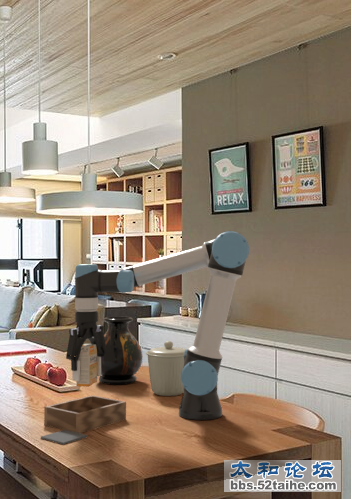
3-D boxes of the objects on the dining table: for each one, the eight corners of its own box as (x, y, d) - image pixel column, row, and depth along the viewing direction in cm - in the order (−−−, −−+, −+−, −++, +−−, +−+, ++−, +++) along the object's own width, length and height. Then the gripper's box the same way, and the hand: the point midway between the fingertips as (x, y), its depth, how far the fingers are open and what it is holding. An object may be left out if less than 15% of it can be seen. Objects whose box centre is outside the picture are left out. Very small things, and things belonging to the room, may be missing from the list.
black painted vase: (136, 387, 273) (136, 320, 273) (86, 385, 276) (87, 319, 276) (146, 378, 294) (147, 315, 294) (100, 376, 297) (101, 314, 297)
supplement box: (89, 387, 212) (89, 346, 212) (75, 386, 213) (75, 346, 213) (98, 382, 220) (97, 343, 220) (84, 381, 221) (84, 343, 221)
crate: (92, 412, 230) (92, 395, 230) (125, 419, 220) (126, 401, 220) (44, 425, 213) (44, 406, 213) (78, 433, 203) (78, 414, 203)
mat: (87, 437, 199) (87, 435, 199) (63, 444, 191) (63, 442, 191) (65, 431, 205) (65, 429, 205) (40, 438, 197) (40, 436, 197)
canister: (200, 393, 261) (200, 341, 261) (167, 400, 249) (167, 345, 249) (168, 387, 274) (169, 337, 274) (136, 393, 262) (136, 340, 262)
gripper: (101, 307, 228) (101, 372, 228) (54, 312, 210) (54, 382, 210) (117, 308, 223) (117, 374, 223) (70, 313, 206) (70, 384, 206)
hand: (87, 378), depth 217 cm, fingers closed on supplement box, 9 cm apart
